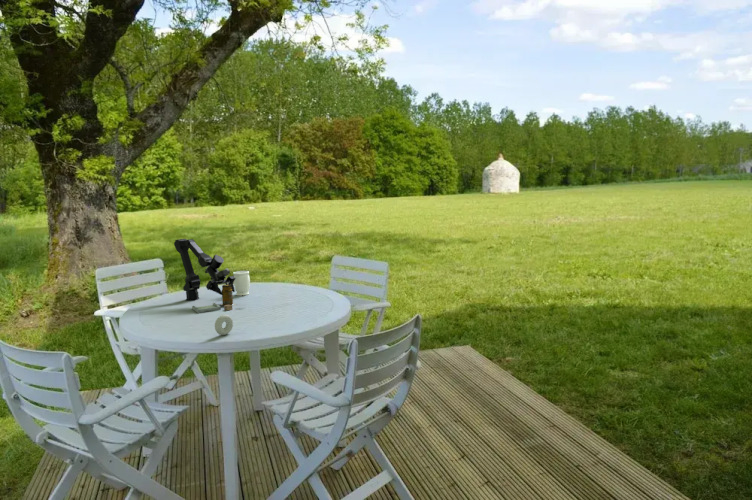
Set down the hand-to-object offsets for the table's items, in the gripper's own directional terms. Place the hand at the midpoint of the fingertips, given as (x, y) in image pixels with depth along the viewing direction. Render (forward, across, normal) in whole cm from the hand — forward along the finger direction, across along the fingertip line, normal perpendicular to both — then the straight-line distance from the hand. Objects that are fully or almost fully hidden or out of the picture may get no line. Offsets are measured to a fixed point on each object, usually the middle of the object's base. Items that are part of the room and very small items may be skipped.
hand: (228, 293), depth 333 cm
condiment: (+5, 0, +6) cm, 8 cm away
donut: (+40, -45, -29) cm, 67 cm away
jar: (-6, +25, +16) cm, 30 cm away
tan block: (+12, -8, -1) cm, 14 cm away
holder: (+2, -14, +8) cm, 16 cm away
